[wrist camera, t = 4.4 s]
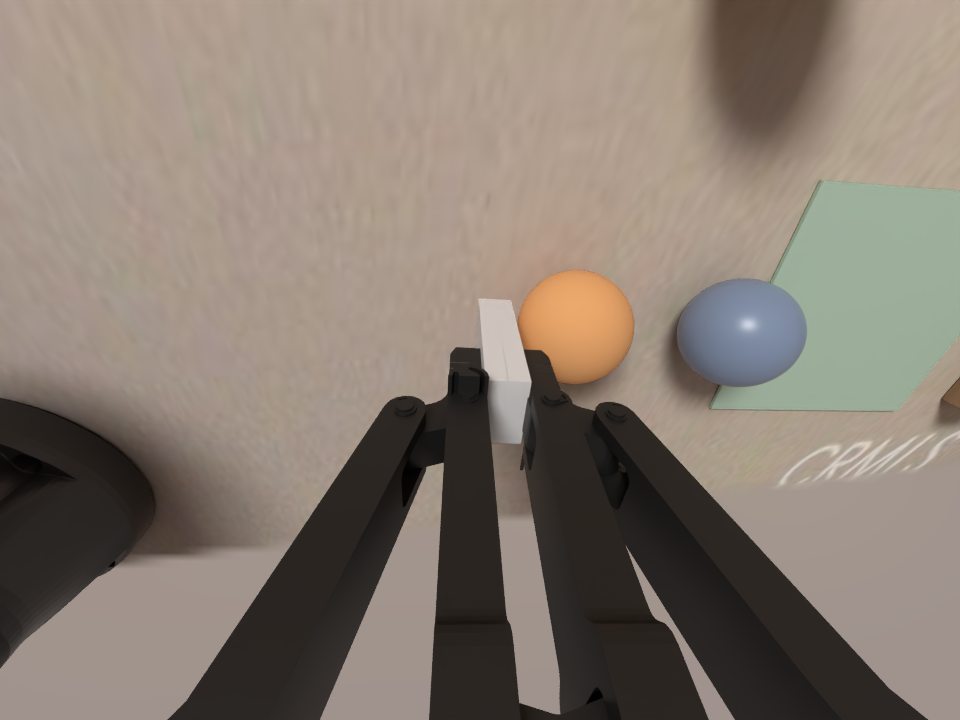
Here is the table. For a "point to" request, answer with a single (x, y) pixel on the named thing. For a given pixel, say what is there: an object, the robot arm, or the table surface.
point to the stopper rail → (953, 395)
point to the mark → (866, 298)
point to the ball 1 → (577, 325)
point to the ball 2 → (741, 332)
